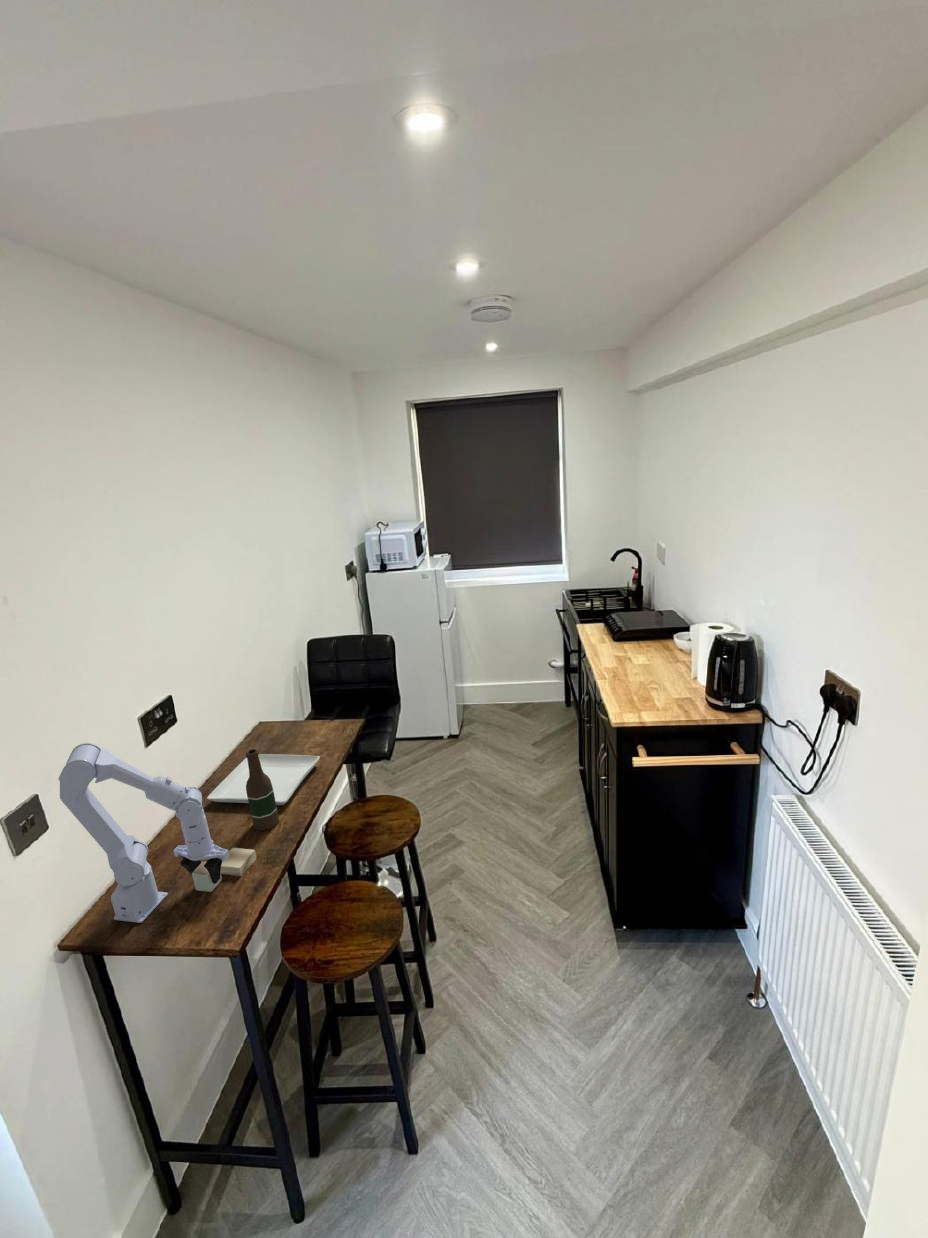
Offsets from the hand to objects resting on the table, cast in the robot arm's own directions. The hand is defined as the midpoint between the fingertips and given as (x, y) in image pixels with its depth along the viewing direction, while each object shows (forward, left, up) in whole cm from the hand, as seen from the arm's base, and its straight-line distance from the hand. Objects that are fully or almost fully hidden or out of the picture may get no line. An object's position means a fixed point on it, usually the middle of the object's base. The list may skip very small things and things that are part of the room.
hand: (208, 880), depth 150 cm
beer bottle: (+25, -1, -2) cm, 26 cm away
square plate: (+45, +10, -2) cm, 46 cm away
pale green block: (0, 0, -1) cm, 1 cm away
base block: (+7, -3, -2) cm, 8 cm away
